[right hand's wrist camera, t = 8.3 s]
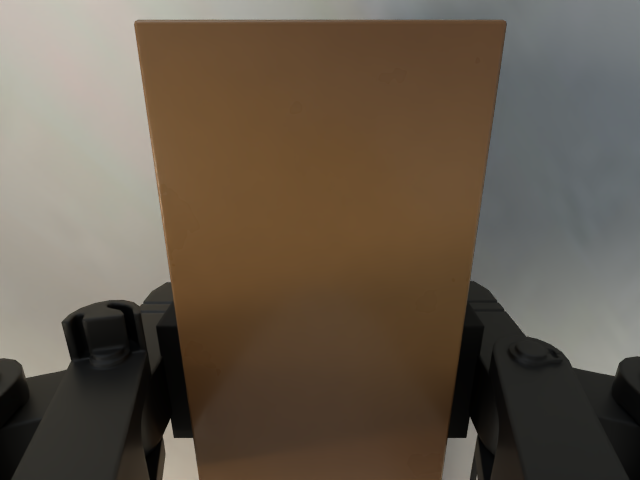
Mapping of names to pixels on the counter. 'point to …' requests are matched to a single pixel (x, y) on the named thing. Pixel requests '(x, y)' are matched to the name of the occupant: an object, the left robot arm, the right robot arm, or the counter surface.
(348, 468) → the bar
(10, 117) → the counter surface
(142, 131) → the counter surface
